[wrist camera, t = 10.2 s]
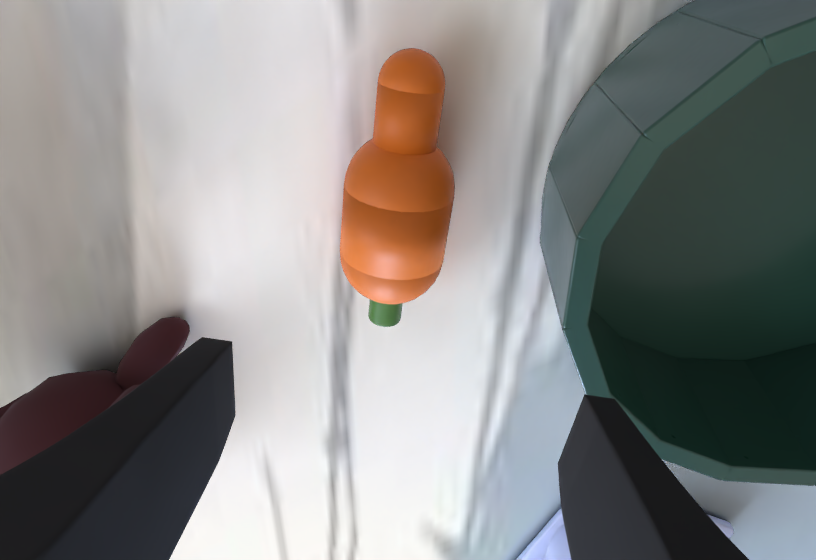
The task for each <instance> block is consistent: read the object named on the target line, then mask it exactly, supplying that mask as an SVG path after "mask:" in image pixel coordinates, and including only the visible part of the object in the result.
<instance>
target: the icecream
mask: <svg viewBox="0 0 816 560" xmlns="http://www.w3.org/2000/svg"><path fill="white" fill-rule="evenodd" d="M189 332H190V327H189V325H188V323H187V322H186V321H185V320H183V319H181V318H179V317H170V318H162V319H160V320H159V321H157V322H156V323H154V324H153V325H151V326H150V327H149V328H147V329H146V330H144V331H143V332H142V333H141V334H140V335H139V336H138V337H137V338H136V339H135V340H134V342H133V343H132V345H131V346H130V348H129V349H128V351H127V352H126V354H125V355H124V357H123V358H122V360H121V361H120V364H119V367H118V370H117V373H113V372H110V371H108V370H96V371H86V372H75V373H67V374H62V375H58V376H53V377H49V378H48V379H46V380H45V381H44V382H42V383H41V384H40V385H38V386H37V387H36V388H34V389H33V390H31V391H30V392H29V393H26V394H24V395H22V396H21V397H19V398H17V399H16V400H14V401H12V402H10V403H9V404H7V405H5V406H4V407H1V408H0V475H1V474H3V473H5V472H6V471H8V470H10V469H12V468H14V467H16V466H17V465H19V464H21V463H23V462H24V461H26V460H28V459H30V458H31V457H33V456H35V455H36V454H38V453H40V452H42V451H43V450H45V449H47V448H48V447H50V446H52V445H53V444H55V443H56V442H58V441H60V440H61V439H63V438H64V437H66V436H68V435H69V434H71V433H72V432H74V431H75V430H77V429H78V428H80V427H81V426H83V425H84V424H86V423H87V422H89V421H90V420H91V419H93V418H94V417H96V416H97V415H99V414H100V413H102V412H103V411H105V410H106V409H108V408H109V407H111V406H112V405H113V404H115V403H116V402H118V401H119V400H120V399H122V398H123V397H124V396H126V395H127V394H128V393H130V392H131V391H132V390H134V389H135V388H136V387H138V386H139V385H141V384H142V383H143V382H145V381H146V380H147V379H149V378H150V377H151V376H152V375H154V374H155V373H156V372H158V371H159V370H160V369H162V368H163V367H164V366H165V365H167V364H168V363H169V362H170V361H172V360H173V359H174V358H176V357H177V355H178V354H179V352H180V351H181V350H182V348H183V347H184V345H185V342H186V340H187V337H188V335H189Z"/></svg>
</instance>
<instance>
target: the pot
mask: <svg viewBox="0 0 816 560" xmlns="http://www.w3.org/2000/svg"><path fill="white" fill-rule="evenodd" d="M540 244H541V248H542V252H543V256H544V260H545V264H546V268H547V272H548V276H549V279H550V283H551V287H552V291H553V295H554V299H555V303H556V307H557V310H558V314H559V318H560V322H561V326H562V330H563V333H564V336H565V338H566V341H567V344H568V347H569V350H570V352H571V355H572V358H573V361H574V364H575V366H576V369H577V372H578V375H579V378H580V380H581V383H582V386H583V389H584V392H585V394H586V395H593V396H599V397H606V398H613V399H615V400H616V401H617V402H618V404H619V405H620V406H621V407H622V409H623V410H624V411H625V413H626V414H627V415H628V416H629V418H630V419H631V420H632V422H633V423H634V424H635V426H636V427H637V428H638V430H639V431H640V432H641V434H642V435H643V436H644V438H645V439H646V440H647V441H648V443H649V444H650V445H651V447H652V448H653V449H654V451H655V452H656V453H657V454H658V456H659V457H660V458H661V459H663V460H666V461H669V462H671V463H674V464H677V465H680V466H682V467H685V468H688V469H691V470H693V471H696V472H699V473H702V474H704V475H707V476H710V477H713V478H715V479H718V480H723V481H735V482H753V483H771V484H789V485H808V486H814V485H815V486H816V0H695V1H693V2H691V3H689V4H687V5H685V6H684V7H682V8H681V9H679V10H677V11H676V12H674V13H673V14H671V15H670V16H668V17H666V18H665V19H663V20H662V21H660V22H658V23H657V24H656V25H654V26H653V27H652V28H651V29H649V30H648V31H647V32H646V33H644V34H643V35H642V36H641V37H639V38H638V39H637V40H635V41H634V42H633V43H632V44H630V45H629V46H628V47H627V48H626V49H625V50H624V51H623V52H622V53H621V54H620V55H619V56H618V57H617V58H616V59H615V60H614V61H613V62H612V63H611V64H610V65H609V66H608V67H607V68H606V69H605V70H604V71H603V73H602V74H601V75H600V76H599V78H598V79H597V80H596V81H595V83H594V84H593V85H592V86H591V87H590V89H589V90H588V91H587V92H586V94H585V95H584V97H583V98H582V100H581V101H580V103H579V104H578V106H577V108H576V109H575V111H574V112H573V114H572V115H571V117H570V119H569V120H568V122H567V124H566V126H565V128H564V130H563V132H562V135H561V137H560V139H559V141H558V143H557V145H556V147H555V150H554V153H553V156H552V159H551V161H550V163H549V167H548V171H547V175H546V181H545V186H544V191H543V197H542V213H541V234H540Z"/></svg>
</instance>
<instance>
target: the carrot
mask: <svg viewBox="0 0 816 560" xmlns="http://www.w3.org/2000/svg"><path fill="white" fill-rule="evenodd" d="M444 92H445V77H444V73H443V70H442V68H441V66H440V64H439V62H438V61H437V60H436V59H435V58H434V57H433V56H432V55H430V54H429V53H427V52H425V51H423V50H420V49H415V48H409V49H403V50H400V51H398V52H396V53H394V54H393V55H391V56H390V57H389V58H388V59H387V60H386V62H385V63H384V65H383V66H382V68H381V71H380V73H379V78H378V86H377V98H376V109H375V121H374V132H373V139H371V140H369V141H368V142H366V143H365V144H364V145H363V146H362V147H361V148H360V149H359V150H358V151H357V152H356V153H355V155H354V156H353V158H352V159H351V162H350V164H349V166H348V169H347V171H346V175H345V181H344V194H343V210H342V226H341V242H340V257H341V264H342V268H343V271H344V273H345V275H346V277H347V279H348V281H349V282H350V284H351V285H352V286H353V287H354V288H355V289H356V290H357V291H358V292H359V293H360V294H362V295H363V296H365V297H367V298H369V299H370V305H369V319H370V321H371V322H373V323H374V324H376V325H379V326H383V327H390V326H394V325H396V324H397V323H398V322H399V321H400V318H401V311H402V303H404V302H408V301H411V300H414V299H415V298H417V297H419V296H420V295H422V294H423V293H425V292H426V291H427V290H428V289H429V288H430V286H431V285H432V284H433V283H434V282H435V280H436V278H437V277H438V275H439V272H440V270H441V267H442V263H443V258H444V253H445V247H446V241H447V235H448V229H449V223H450V218H451V212H452V206H453V200H454V189H455V185H454V177H453V172H452V169H451V167H450V164H449V162H448V160H447V159H446V157H445V156H444V154H443V152H442V151H441V150H440V149H439V148H438V147H437V140H438V133H439V126H440V119H441V113H442V106H443V99H444Z"/></svg>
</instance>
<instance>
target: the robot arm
mask: <svg viewBox="0 0 816 560" xmlns="http://www.w3.org/2000/svg"><path fill="white" fill-rule="evenodd" d="M234 418H235V396H234V375H233V353H232V342H231V341H224V340H218V339H211V338H204V337H202V338H201V339H199V340H198V341H196V342H195V343H194V344H192V345H191V346H190V347H188V348H187V349H186V350H185V351H183V352H182V353H181V354H179V355H178V356H177V357H176V358H174V359H173V360H172V361H170V362H169V363H168V364H167V365H165V366H164V367H163V368H162V369H160V370H159V371H158V372H156V373H155V374H154V375H152V376H151V377H150V378H149V379H147V380H146V381H145V382H143V383H142V384H141V385H139V386H138V387H136V388H135V389H134V390H132V391H131V392H130V393H128V394H127V395H126V396H124V397H123V398H122V399H120V400H119V401H118V402H116V403H115V404H113V405H112V406H111V407H109V408H108V409H106V410H105V411H103V412H102V413H100V414H99V415H97V416H96V417H94V418H93V419H91V420H90V421H89V422H87V423H86V424H84V425H83V426H81V427H80V428H78V429H77V430H75V431H74V432H72V433H71V434H69V435H68V436H66V437H64V438H63V439H61V440H60V441H58V442H56V443H55V444H53V445H52V446H50V447H48V448H47V449H45V450H43V451H42V452H40V453H38V454H36V455H35V456H33V457H31V458H30V459H28V460H26V461H24V462H23V463H21V464H19V465H17V466H16V467H14V468H12V469H10V470H8V471H6V472H5V473H3V474H1V475H0V560H169V559H170V557H171V555H172V553H173V551H174V549H175V547H176V545H177V543H178V541H179V539H180V537H181V535H182V533H183V531H184V529H185V527H186V525H187V523H188V521H189V519H190V517H191V515H192V513H193V511H194V509H195V508H196V506H197V504H198V502H199V500H200V498H201V496H202V494H203V492H204V490H205V488H206V486H207V484H208V482H209V480H210V478H211V476H212V474H213V472H214V470H215V468H216V466H217V464H218V462H219V459H220V457H221V454H222V451H223V449H224V446H225V443H226V440H227V438H228V435H229V432H230V429H231V426H232V423H233V420H234ZM558 471H559V486H560V498H561V508H560V509H559V511H558V512H557V513H556V514H555V515H554V516H553V517H552V519H551V520H550V521H549V522H548V523H547V524H546V526H545V527H544V528H543V529H542V530H541V531H540V532H539V534H538V535H537V536H536V537H535V538H534V539H533V541H532V542H531V543H530V544H529V545H528V546H527V547H526V549H525V550H524V551H523V552H522V553H521V554H520V555H519V557H518V558H517V559H516V560H749V559H748V558H747V557H746V556H745V555H744V554H743V553H742V552H741V551H740V550H739V549H738V548H737V547H736V546H735V545H734V544H733V543H732V542H731V541H730V539H729V538H730V537H731V536H732V535H733V534H734V529H733V527H732V525H731V523H729V522H727V521H725V520H722V519H719V518H716V517H713V516H711V515H708V514H706V513H705V512H704V510H703V509H702V508H701V507H700V506H699V505H698V503H697V502H696V501H695V500H694V499H693V498H692V496H691V495H690V494H689V493H688V492H687V490H686V489H685V488H684V487H683V486H682V484H681V483H680V482H679V481H678V480H677V478H676V477H675V476H674V475H673V473H672V472H671V471H670V470H669V468H668V467H667V466H666V465H665V463H664V462H663V461H662V459H661V458H660V457H659V456H658V454H657V453H656V452H655V451H654V449H653V448H652V447H651V445H650V444H649V443H648V441H647V440H646V439H645V438H644V436H643V435H642V434H641V432H640V431H639V430H638V428H637V427H636V426H635V424H634V423H633V422H632V420H631V419H630V418H629V416H628V415H627V414H626V413H625V411H624V410H623V409H622V407H621V406H620V405H619V404H618V402H617V401H616V400H615V399H613V398H606V397H599V396H593V395H586V394H585V395H584V397H583V400H582V403H581V405H580V408H579V410H578V413H577V415H576V418H575V421H574V423H573V426H572V428H571V431H570V434H569V436H568V439H567V441H566V444H565V446H564V449H563V452H562V454H561V457H560V459H559V462H558Z"/></svg>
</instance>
